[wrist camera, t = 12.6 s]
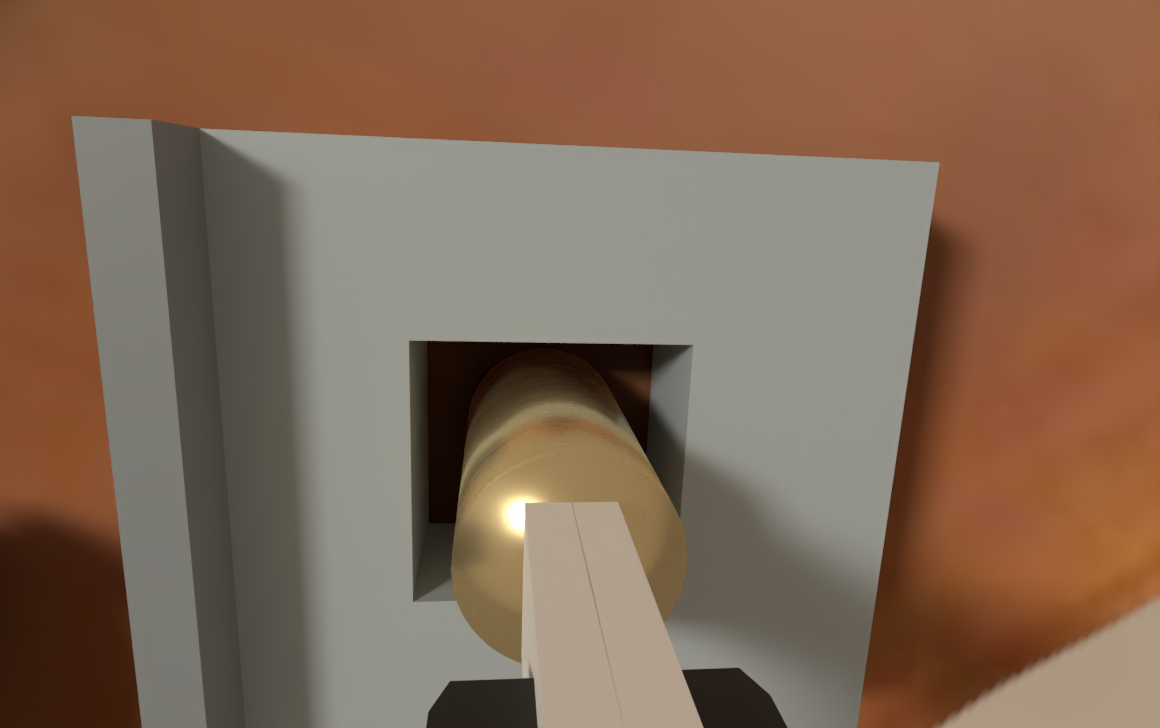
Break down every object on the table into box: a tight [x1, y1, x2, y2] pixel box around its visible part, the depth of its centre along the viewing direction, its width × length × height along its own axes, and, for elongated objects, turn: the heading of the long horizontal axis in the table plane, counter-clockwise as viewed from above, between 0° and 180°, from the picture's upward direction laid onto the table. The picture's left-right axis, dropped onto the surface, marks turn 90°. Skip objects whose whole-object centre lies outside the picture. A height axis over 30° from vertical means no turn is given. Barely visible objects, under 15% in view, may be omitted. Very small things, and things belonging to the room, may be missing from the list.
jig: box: [72, 116, 939, 728], centre depth 17 cm, size 16×14×6 cm
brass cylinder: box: [451, 348, 688, 664], centre depth 16 cm, size 4×4×8 cm
